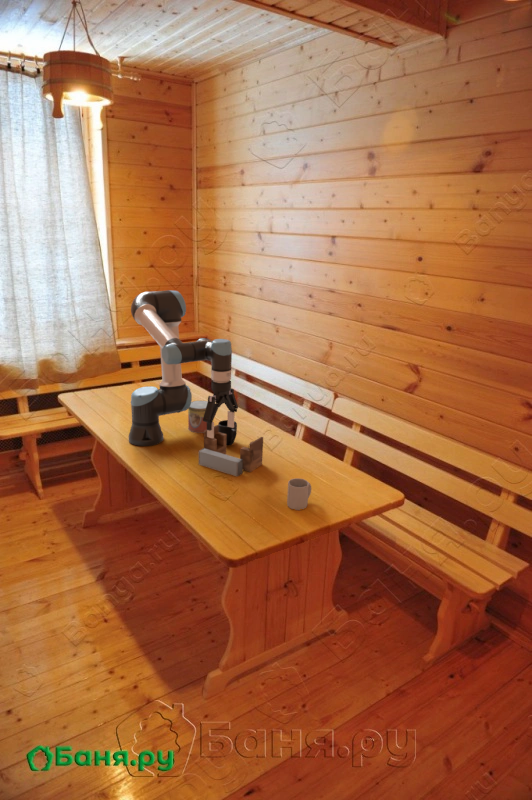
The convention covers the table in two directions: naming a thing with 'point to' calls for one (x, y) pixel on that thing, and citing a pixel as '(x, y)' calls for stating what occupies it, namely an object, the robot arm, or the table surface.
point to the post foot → (252, 455)
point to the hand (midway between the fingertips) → (220, 432)
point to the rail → (220, 462)
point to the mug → (228, 431)
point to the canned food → (197, 417)
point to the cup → (298, 493)
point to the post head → (215, 441)
